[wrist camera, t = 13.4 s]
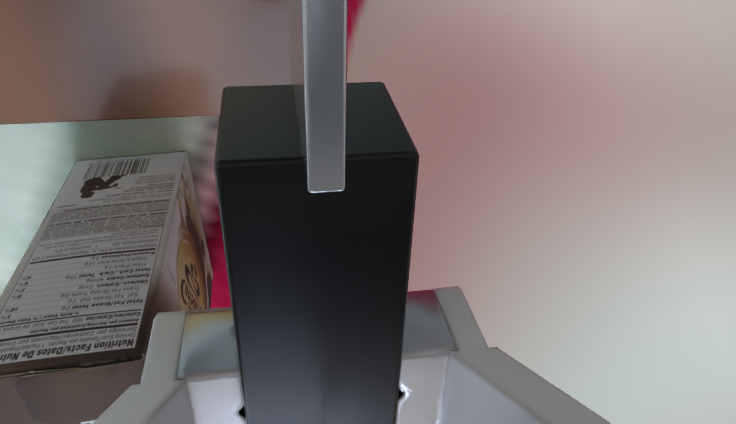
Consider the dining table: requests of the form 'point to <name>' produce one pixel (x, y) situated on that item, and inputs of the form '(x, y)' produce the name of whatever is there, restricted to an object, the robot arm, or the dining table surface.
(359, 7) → the dining table surface
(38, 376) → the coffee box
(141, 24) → the cutting board
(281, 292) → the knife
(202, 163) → the dining table surface
